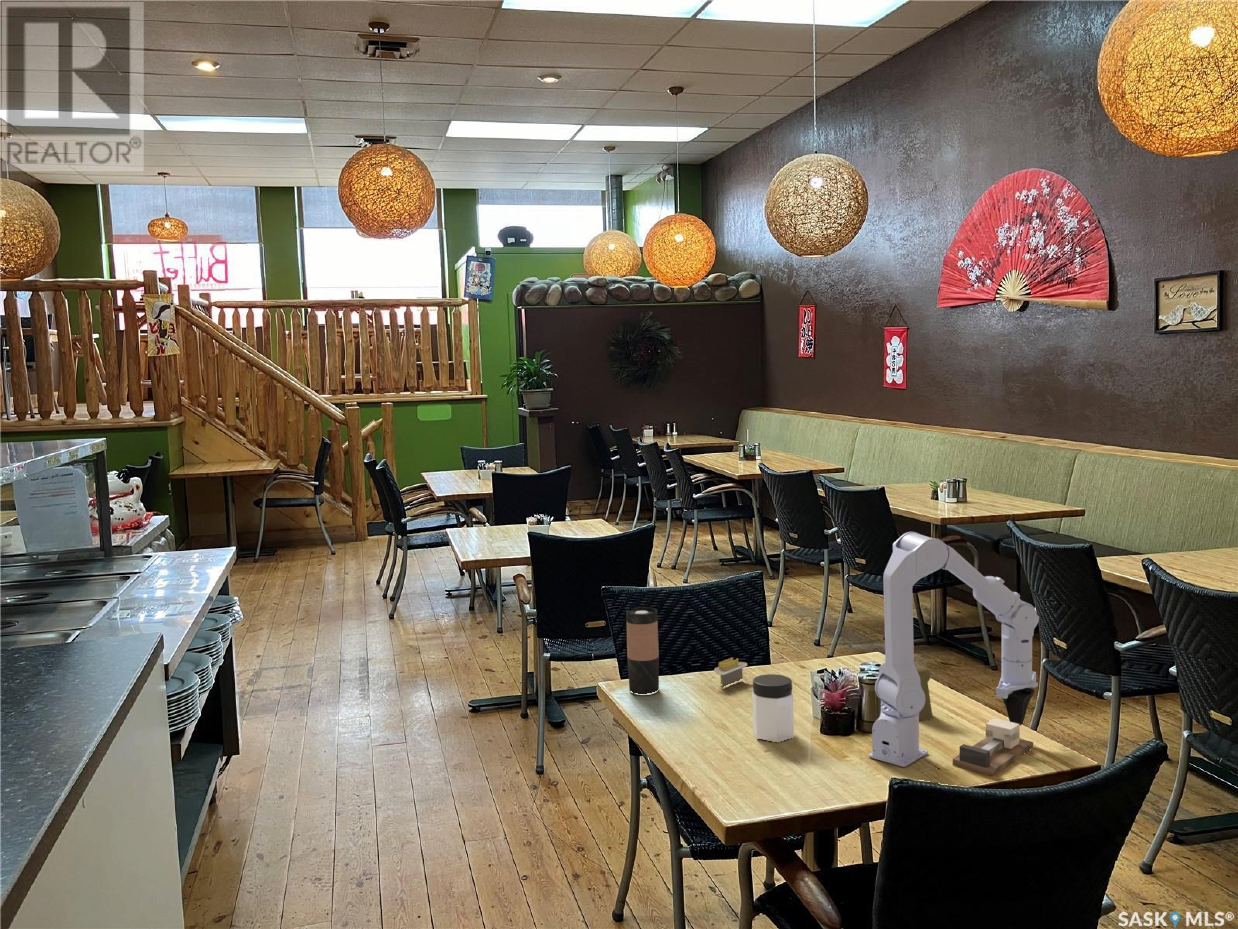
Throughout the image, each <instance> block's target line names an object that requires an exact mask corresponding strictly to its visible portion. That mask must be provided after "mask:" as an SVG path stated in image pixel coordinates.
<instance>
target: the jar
mask: <svg viewBox="0 0 1238 929" xmlns="http://www.w3.org/2000/svg"><path fill="white" fill-rule="evenodd" d="M751 693H752V694H751V695H752V696H751V697H752V732H753V734H754V736H755V739H756V740H757V739H763V740H768V741H772V742H771V743H774V742H777V743H776V744H778V742H779V743H781V741H782V742H785V741H784V740H786V741H788V740H787V739H789V740H792V739H794V738H795V728H794V726H795V725H794V720H795V719H794V694H793V681H792V679H791V678H790V677H789V676H785V675H782V674H773V673H771V674H770V673H768V674H762V675H761V674H760V675H757V676H755V677H754V678H753V679H752V690H751ZM791 738H792V739H791ZM768 741H767V742H768Z"/></svg>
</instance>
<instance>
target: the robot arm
mask: <svg viewBox="0 0 1238 929" xmlns="http://www.w3.org/2000/svg"><path fill="white" fill-rule="evenodd" d="M941 569H942V570H945V571H949V573H951V574H952V575H954V576H955V577H957V578H958V579H959V580H960V581H961V582H963V583H965V585H967V586H968V587H970V588H971V589H972V596H973V598H974V599H975V600H976V601H977V602H979V604H981V605H982V606H984V607H985V609H987V610H988V611H990V612H991V613H992V614H993V615H994V616H995V619H996V621H998V622H1000V623H1001V670H1000V671H1001V677H1000V679H999V682H998V686H996V687H995V697H996V698H1000V699H1002V701H1003V703H1004V706H1005V709H1006V711H1007V712H1006V713H1007V716H1008V721H1009V722H1013V723H1017V724H1020V726H1022V725H1023V724H1024V721H1025V717H1026V713H1027V709H1028V706H1029V704H1030V701H1031V699H1032V698H1033V696H1034V695H1035V689H1034V688H1037V687H1038V686H1039V682H1037V672H1036V671H1033V637H1034V632H1035V629H1036V627H1037V625H1038V623H1039V621H1040V616H1039V615H1038V614H1037V611H1036V608H1035V606H1033V604H1031V603H1028V602H1026V601H1023V600H1022V599H1021V598H1020V597H1021V595H1020V593H1018V592H1017V591H1012V590H1011V589H1009V588H1008V587H1007V586H1006V585H1005V584H1004V583H1005V580H1004V579H1002V577H999V576H992V575H986V576H984V575H983V574H981V572H980V571H979V570H977V569H976V568H975V567H974V566H973V565H972V564H971V563H969V562H968V561H967V560H966V558H964V557H963V556H962V555H961V554H960V553H958V552H957V550H955V549H954V548H953V547H951V546H950V545H949V544H948V545H947V544H946V543H945V542H944V541H942V540H941V539H939V538H935V537H930V536H926V535H923V534H920V533H918V532H915V531H908V532H905V533H903V534H902V535H901V536H899V538H897V539H896V541H894V542H893V543H892V552H891V556H890V558H889V560H888V562H887V564H886V567H885V569H884V572H883V579H882V580H883V581H882V582H883V583H882V584H883V612H884V617H883V618H884V651H885V652H884V653H885V654H884V655H885V656H884V657H885V658H884V660H885V662H883V663H882V664H881V665H880V666H879V667H878V677H877V679H876V681H875V684H874V691H875V694H876V696H877V697H878V698H879V699H880V715H879V717H878V718H877V719H876V720H875V722H874V723H873V725H872V727H871V728H872V730H871V731H872V732H871V736H872V737H871V738H872V741H871V744H872V747H871V749H872V751H871V752H870V753H868V754H867V755H868V757H869V758H872V759H875V760H878V761H882V762H884V763H889V764H892V765H896V766H898V767H902V768H906V767H907V766H909V765H910V764H912V763H914V762H916V761H917V760H919V759H920V758H922V757H924V756H925V755H927V754H928V753H929V751H928V750H927V749H923V748H920V720H919V712H920V711H921V710H922V708H923V707H924V704H925V693H924V691H923V689H922V687H921V683H920V676H919V674H918V672H917V670H916V668H915V666H914V665H915V652H914V649H915V648H914V646H915V645H914V643H915V642H914V608H913V607H914V606H913V605H914V604H913V602H914V601H913V600H914V599H913V587H914V585H915V584H916V583H917V582H918V581H920V579H922V578H925V577H927V576H928V575H929V576H930V574H933V573H934V572H937V571H939V570H941Z"/></svg>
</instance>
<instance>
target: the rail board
mask: <svg viewBox="0 0 1238 929" xmlns="http://www.w3.org/2000/svg"><path fill="white" fill-rule="evenodd" d="M1032 748H1033V749H1034V741H1031V740H1025V739H1022V738H1020V743H1019V744H1018V745H1016V746H1015V747H1013V748H1012V749H1009V748H1005V747H1004V740H1000V739H994V740H993V741H991V742H990V743H986V737H985V738H982V739H981V740H980V741H978V742H977V743H975V744H973V745H969V744H964V743H963V744H962V745H959V754H958V755H956V756H954V757H953V758H952V766H955V767H959V768H962V769H966V770H970V771H974V772H977V773H981V774H984V775H988V776H991V777H995V776H996V775H997V774H999V773H1000V772H1002V771H1003V770H1004V769H1006V768H1007V767H1008V766H1010V765H1011V764H1013V763H1014V762H1016V761H1017V760H1019V759H1020V758H1021V757H1023V756H1024V755H1025V754H1024V753H1026V754H1027V753H1028V752H1030V751H1031V750H1033V749H1032ZM1030 749H1031V750H1030ZM1029 750H1030V751H1029ZM1019 757H1020V758H1019ZM1015 760H1016V761H1015Z"/></svg>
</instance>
